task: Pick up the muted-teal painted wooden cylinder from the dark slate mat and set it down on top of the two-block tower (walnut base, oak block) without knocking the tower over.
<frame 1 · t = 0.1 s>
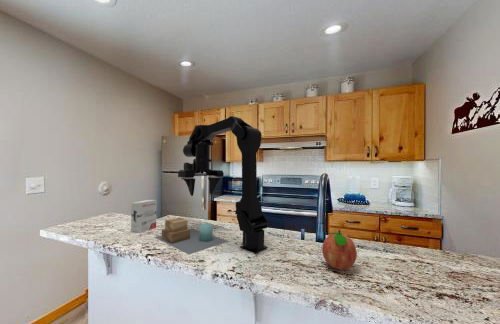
hand: (201, 194, 89), 15 cm above the counter, fingers open, 9 cm apart
oak block: (176, 229, 77), point 4 cm above the counter, touching walnut base block
walnut base block: (175, 238, 77), resting on slate mat, touching oak block
slate mat: (190, 240, 77), on the counter
teal cylinder: (205, 239, 77), resting on slate mat
ink box: (143, 231, 87), on the counter
fruit: (338, 268, 59), on the counter
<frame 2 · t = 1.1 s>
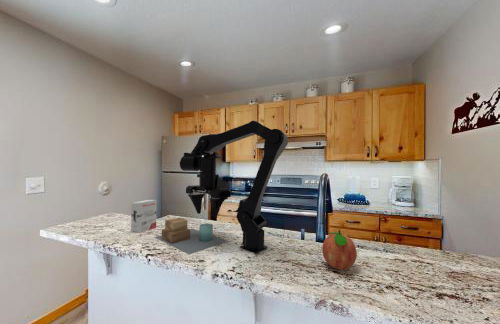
hand: (206, 215, 77), 9 cm above the counter, fingers open, 9 cm apart
nothing on the counter moved.
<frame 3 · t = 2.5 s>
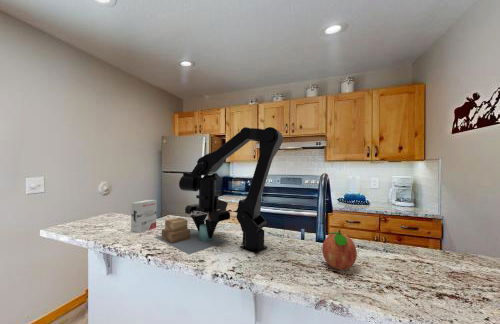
hand: (205, 236, 77), 1 cm above the counter, fingers closed on teal cylinder, 5 cm apart
teal cylinder: (205, 239, 77), resting on slate mat, touching gripper
everything else where it was.
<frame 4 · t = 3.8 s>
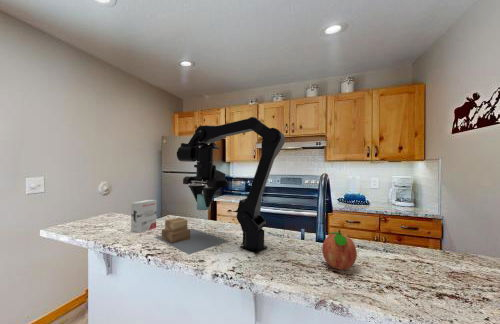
hand: (203, 206, 77), 12 cm above the counter, fingers closed on teal cylinder, 5 cm apart
teal cylinder: (203, 208, 77), point 11 cm above the counter, touching gripper
everything else where it was.
when the fingers open (9 cm above the counter, at t = 5.4 s): teal cylinder stays where it is, resting on oak block.
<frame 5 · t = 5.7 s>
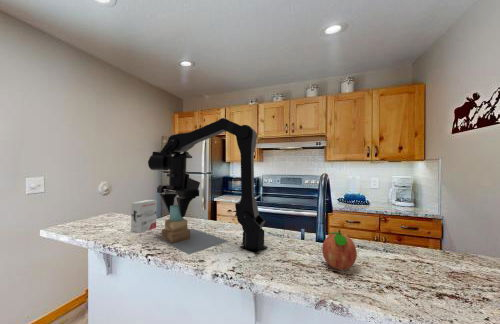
hand: (176, 214, 77), 9 cm above the counter, fingers open, 8 cm apart
oak block: (176, 229, 77), point 4 cm above the counter, touching teal cylinder, walnut base block
teal cylinder: (176, 220, 77), point 7 cm above the counter, touching oak block
everything else where it was.
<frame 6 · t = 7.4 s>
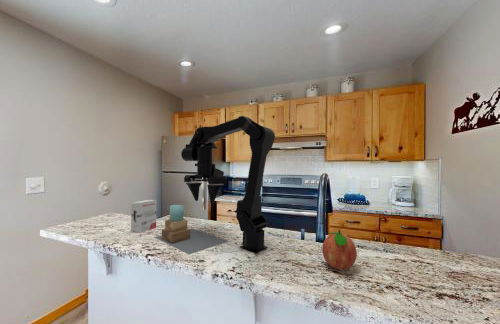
hand: (204, 202, 83), 13 cm above the counter, fingers open, 9 cm apart
nothing on the counter moved.
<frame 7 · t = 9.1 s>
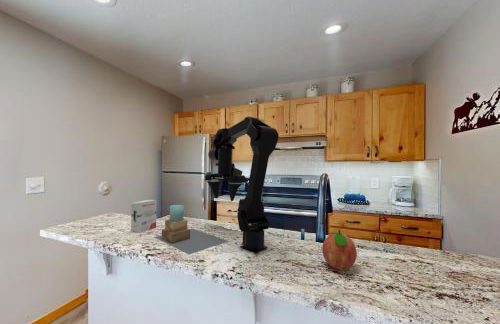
hand: (224, 199, 88), 13 cm above the counter, fingers open, 9 cm apart
nothing on the counter moved.
at the end: teal cylinder point 7.0 cm above the counter; teal cylinder 0.1 cm from the oak block (horizontally); oak block tilted 0° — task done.
